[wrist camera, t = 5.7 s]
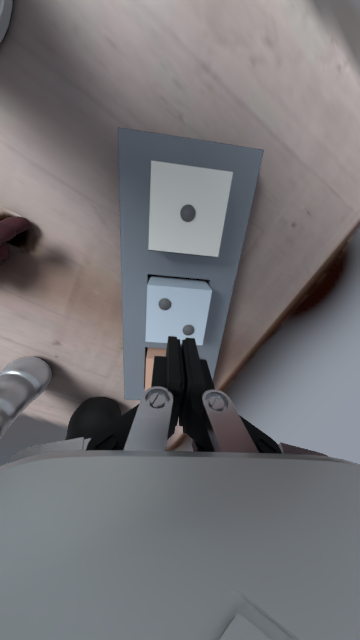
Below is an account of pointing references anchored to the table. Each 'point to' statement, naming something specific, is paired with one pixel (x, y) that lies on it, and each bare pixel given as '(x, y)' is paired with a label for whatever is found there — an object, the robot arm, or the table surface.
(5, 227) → the icecream
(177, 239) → the tile one
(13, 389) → the plastic bottle
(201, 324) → the tile two
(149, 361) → the tile three
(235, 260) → the panel
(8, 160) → the table surface
